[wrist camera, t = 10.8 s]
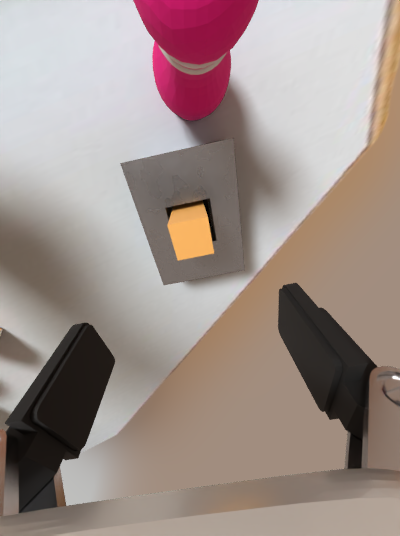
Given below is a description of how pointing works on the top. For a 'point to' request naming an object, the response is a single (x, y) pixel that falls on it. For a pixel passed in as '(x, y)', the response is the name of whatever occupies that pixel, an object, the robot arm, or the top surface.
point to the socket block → (185, 191)
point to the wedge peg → (190, 230)
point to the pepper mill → (194, 49)
